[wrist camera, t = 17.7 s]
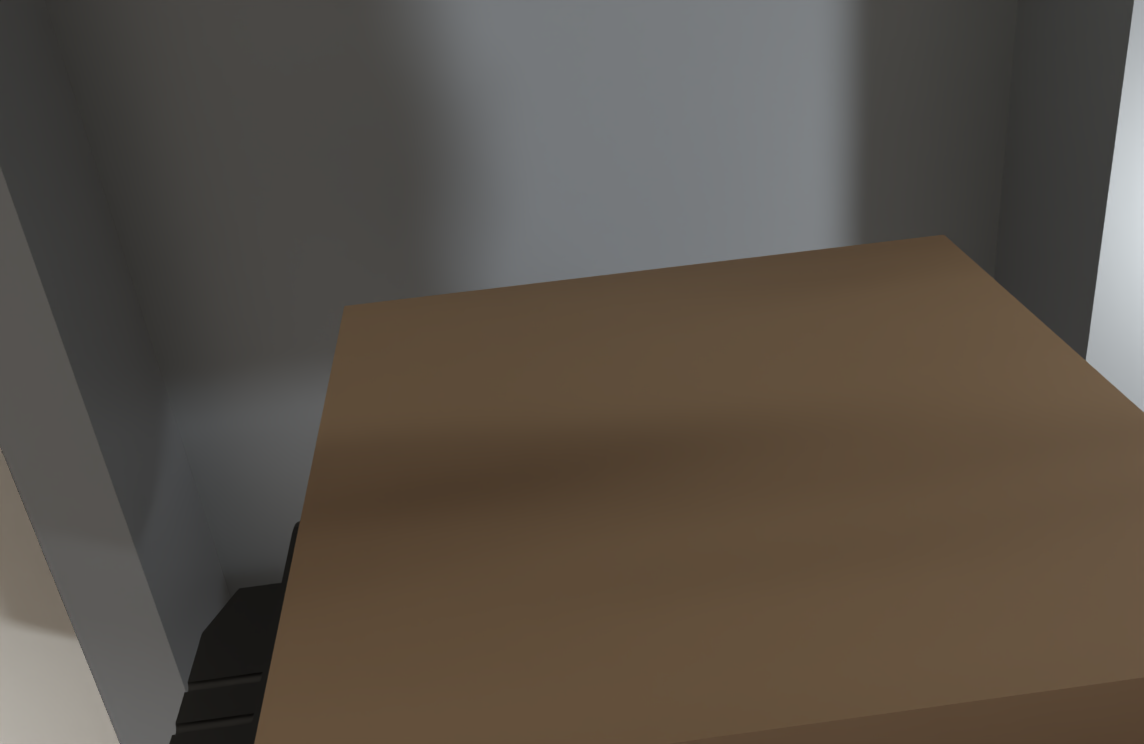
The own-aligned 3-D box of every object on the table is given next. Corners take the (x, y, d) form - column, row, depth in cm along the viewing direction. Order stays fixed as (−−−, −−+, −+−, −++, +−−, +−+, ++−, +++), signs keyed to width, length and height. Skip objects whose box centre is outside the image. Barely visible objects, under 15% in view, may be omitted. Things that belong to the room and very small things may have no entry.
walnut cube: (909, 681, 12) (1194, 1230, 7) (433, 746, 11) (423, 1356, 7) (944, 234, 9) (1402, 641, 5) (344, 305, 9) (241, 802, 5)
